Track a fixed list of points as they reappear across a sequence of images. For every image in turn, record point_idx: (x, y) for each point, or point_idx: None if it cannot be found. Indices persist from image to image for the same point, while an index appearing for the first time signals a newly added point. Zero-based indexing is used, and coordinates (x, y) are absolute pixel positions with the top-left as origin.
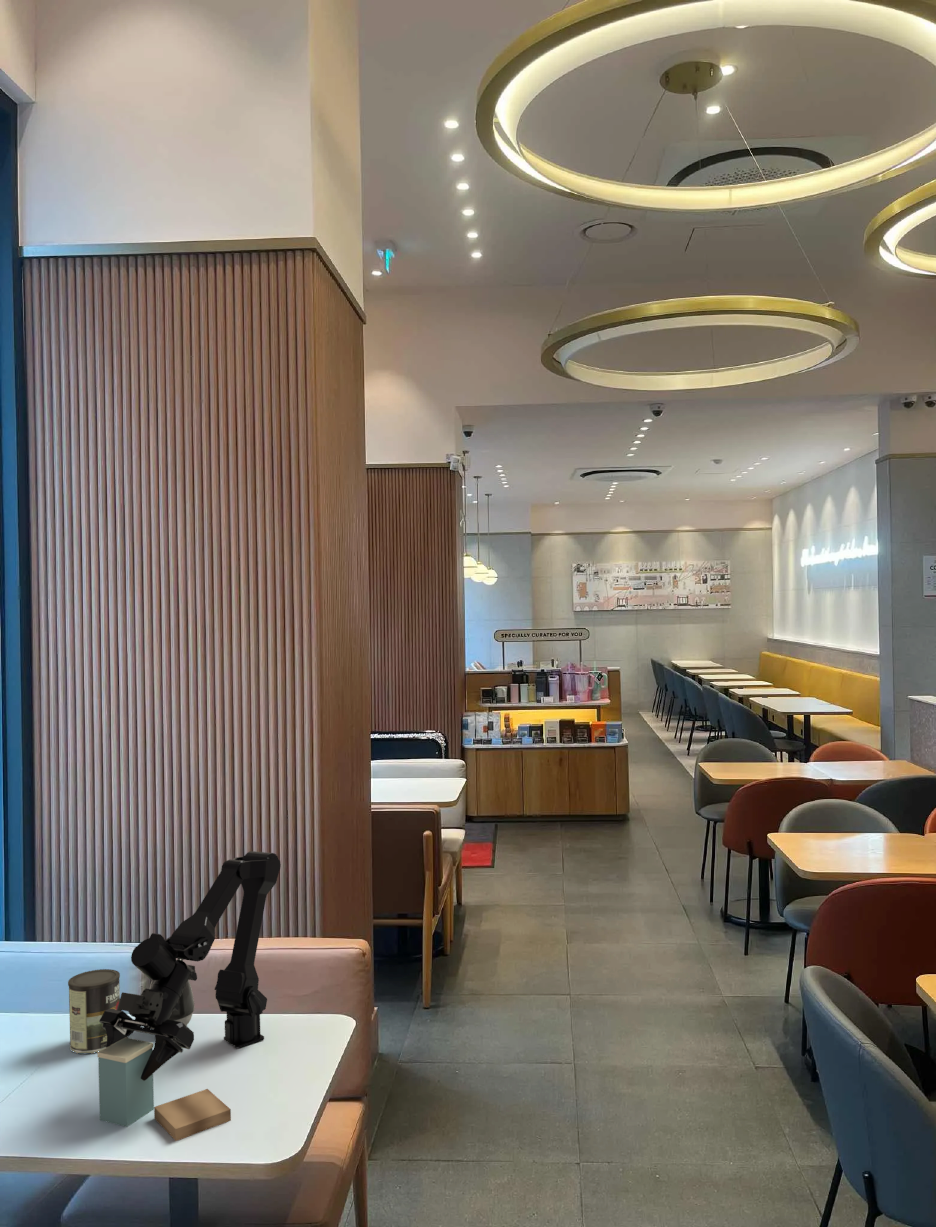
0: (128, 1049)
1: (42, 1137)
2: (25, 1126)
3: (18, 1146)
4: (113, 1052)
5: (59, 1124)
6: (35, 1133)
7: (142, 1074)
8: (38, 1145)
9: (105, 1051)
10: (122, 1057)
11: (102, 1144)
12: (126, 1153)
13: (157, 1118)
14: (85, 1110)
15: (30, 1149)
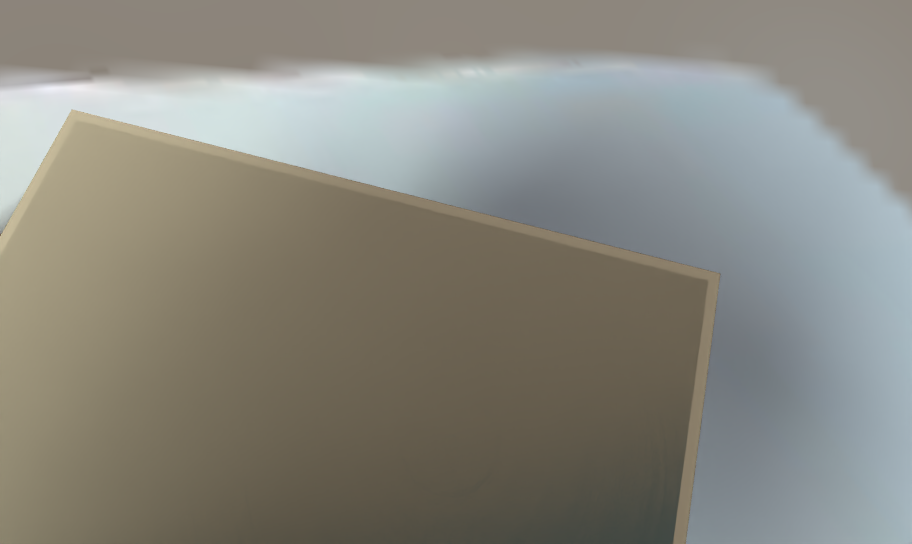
0: (150, 466)
1: (722, 200)
2: (901, 286)
3: (775, 121)
4: (403, 296)
5: (731, 324)
6: (788, 229)
7: None
8: (686, 137)
9: (595, 330)
10: (139, 136)
11: (376, 174)
12: (220, 119)
13: None
14: (694, 497)
15: (698, 105)
